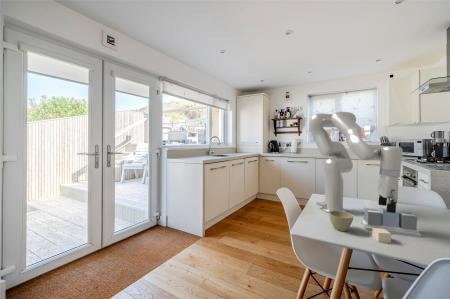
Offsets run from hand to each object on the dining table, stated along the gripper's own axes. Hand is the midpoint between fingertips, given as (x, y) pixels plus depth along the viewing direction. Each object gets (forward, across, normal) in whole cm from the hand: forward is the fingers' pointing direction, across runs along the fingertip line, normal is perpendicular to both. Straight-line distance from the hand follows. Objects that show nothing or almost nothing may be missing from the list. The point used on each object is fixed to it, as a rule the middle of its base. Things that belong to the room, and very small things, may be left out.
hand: (386, 208), depth 95 cm
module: (+7, +1, +1) cm, 7 cm away
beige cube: (+9, +14, -6) cm, 18 cm away
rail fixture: (+10, +1, +1) cm, 10 cm away
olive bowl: (+10, +8, -20) cm, 24 cm away
